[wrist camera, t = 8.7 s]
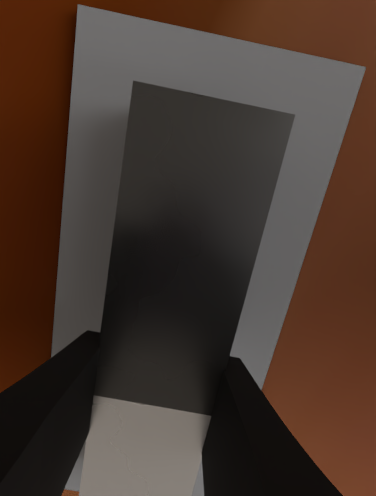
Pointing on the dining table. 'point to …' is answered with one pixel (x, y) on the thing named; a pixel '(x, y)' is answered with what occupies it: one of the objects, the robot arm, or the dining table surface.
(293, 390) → the dining table surface
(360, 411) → the dining table surface
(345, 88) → the mat
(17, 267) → the dining table surface
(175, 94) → the two-tone grey bar
